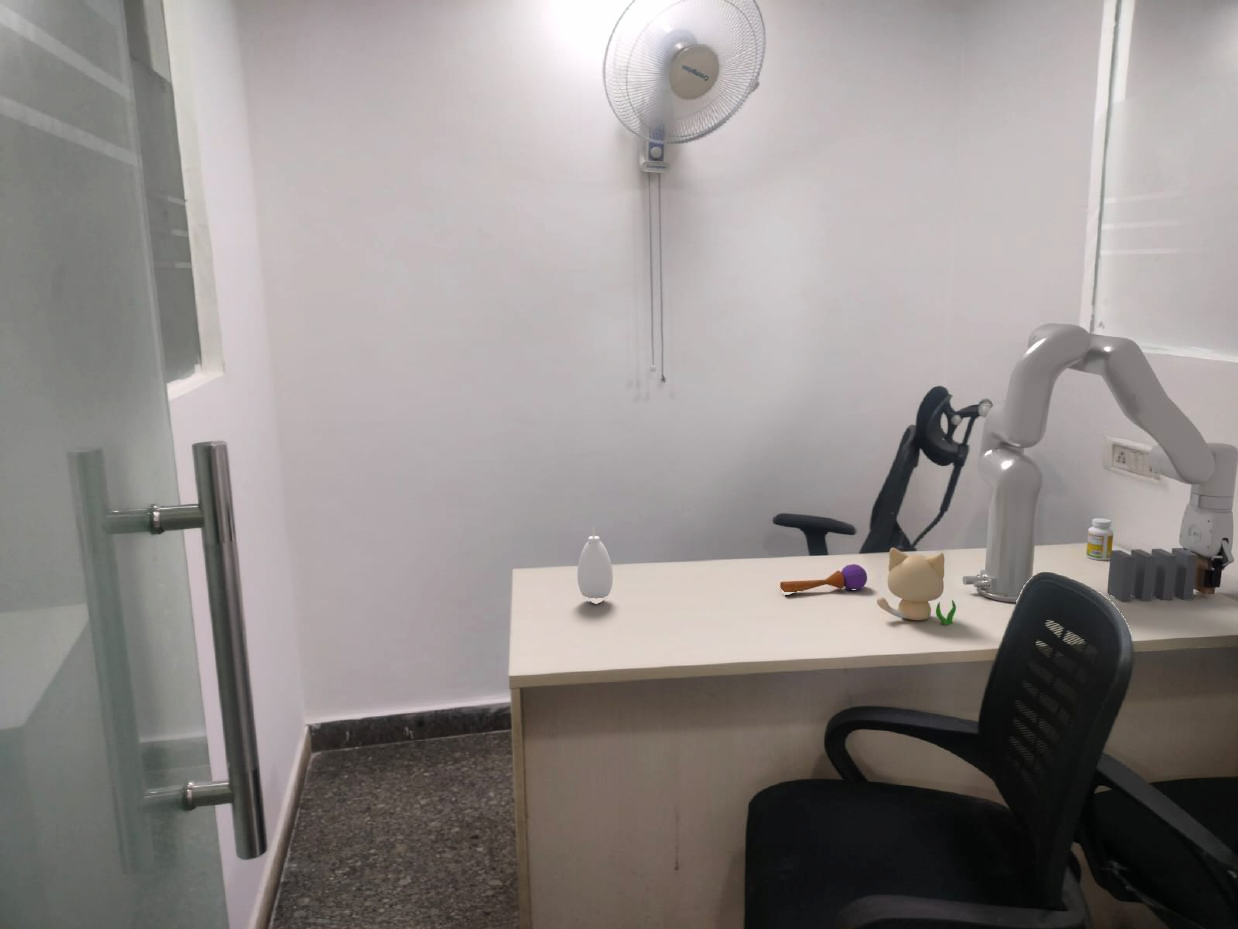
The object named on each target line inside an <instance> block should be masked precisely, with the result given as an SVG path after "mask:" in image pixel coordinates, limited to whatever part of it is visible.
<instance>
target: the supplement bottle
mask: <svg viewBox="0 0 1238 929" xmlns="http://www.w3.org/2000/svg"><path fill="white" fill-rule="evenodd" d="M1091 525H1092V526H1091V527H1089V528H1088V530H1087V544H1086V545H1087V546H1086V557H1087V558H1089V559H1090V558H1091V560H1094V561H1104V562H1105V561H1110V556H1111V550H1113V540H1114V531H1113V529H1112V528H1111V526H1112V520H1110V519H1106V518H1100V517H1099V518H1095V517H1094V518H1093V519H1092V522H1091Z"/></svg>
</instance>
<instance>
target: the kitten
mask: <svg viewBox="0 0 1238 929" xmlns="http://www.w3.org/2000/svg"><path fill="white" fill-rule="evenodd" d="M888 557H889V559H888V560H889V561H888V575H887V587H888V590H889V592H890V593H891V594H893V595H894V596H895V597H897V598H899V599H901V600H899V601H900V602H899V604H898V606H897V607H898V608H897V609H896V608H893V607H891V605H889V603H888V601H887V599H886V598H885V597H882V596H880V597H877V599H876V603H877V605H878V606H879V608H880V609H882V610H883V611H885V612H887V613H888V614H890V615H892V616H895V617H897V618H901V619H907V620H911V621H923V620H924V621H925V620H927V619H929V618H930V617H931V615H932V608H931V607H932V606H931V604H930V603H929V602H931V601H935V600H937V599H939V598H940V597H941V596H942V595H943V593H944V588H945V585H944V582H945V581H944V577H945V554H944V553H943V552H938V553H936V554H933V555H930V556H926V555H923V554H917V553H910V554H905V553H904V552H902V551H901V550H898V549H897V548H895V547H891V548H890V550H889V553H888ZM940 604H941V601H939V602H938V603H937V606H936V609H935V615H936V617H937V619H939V620H940V624H941V625H944V626H947V625H952V624H953V619H954V615H955V614H956V611H957V610H956V609H957V605H956V603H955V601H954V600H953V599H951V604H952V607H951V609H950V610H949V612H948V613H947V616H946V617H945V616H944V615H943V613H942V610H941V605H940Z"/></svg>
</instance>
